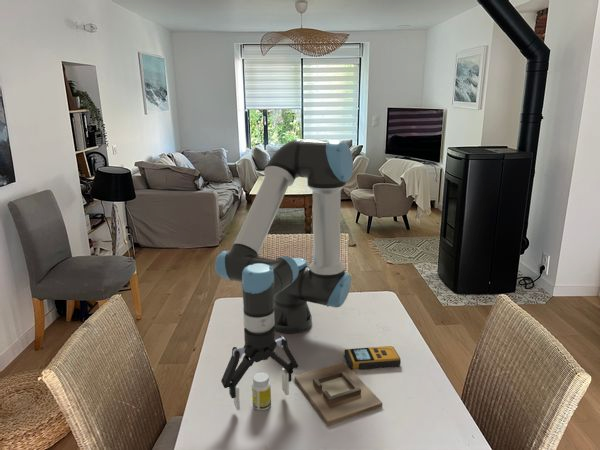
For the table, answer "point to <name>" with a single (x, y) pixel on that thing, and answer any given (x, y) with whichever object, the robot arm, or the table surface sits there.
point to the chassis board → (337, 393)
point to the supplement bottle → (261, 391)
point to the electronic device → (372, 358)
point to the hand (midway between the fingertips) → (261, 399)
